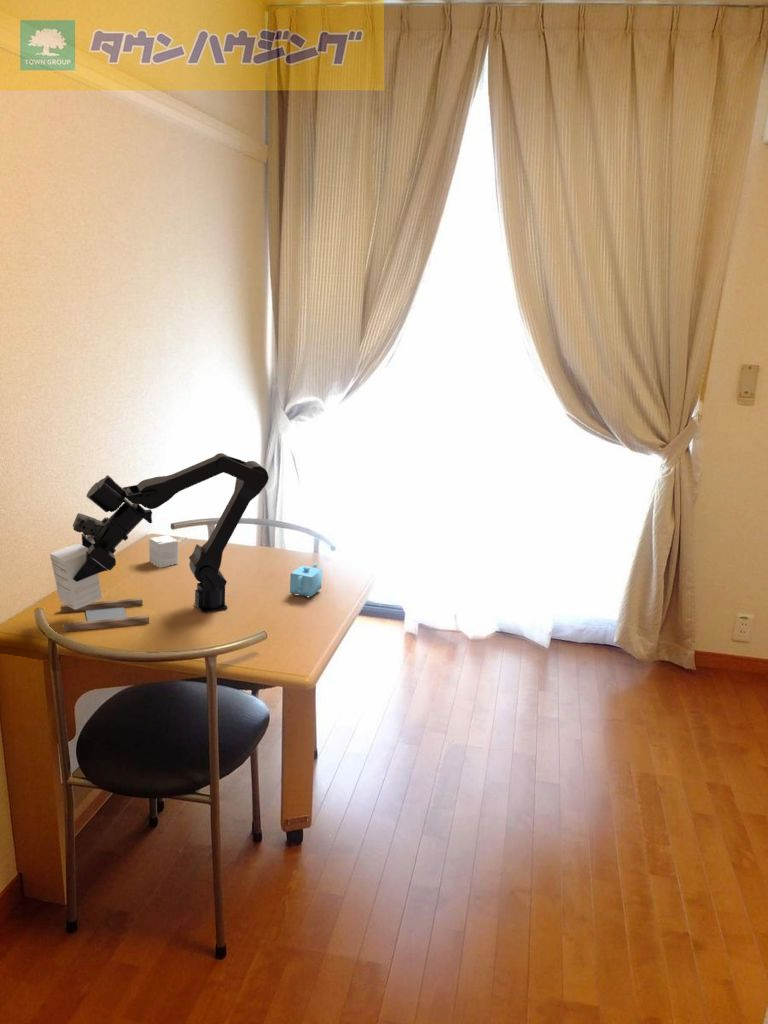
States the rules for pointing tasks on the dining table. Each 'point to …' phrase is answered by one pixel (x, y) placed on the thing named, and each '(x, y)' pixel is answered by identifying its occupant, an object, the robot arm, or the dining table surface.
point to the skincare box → (163, 551)
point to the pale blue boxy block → (306, 580)
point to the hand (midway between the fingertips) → (73, 573)
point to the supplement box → (64, 572)
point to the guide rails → (105, 615)
